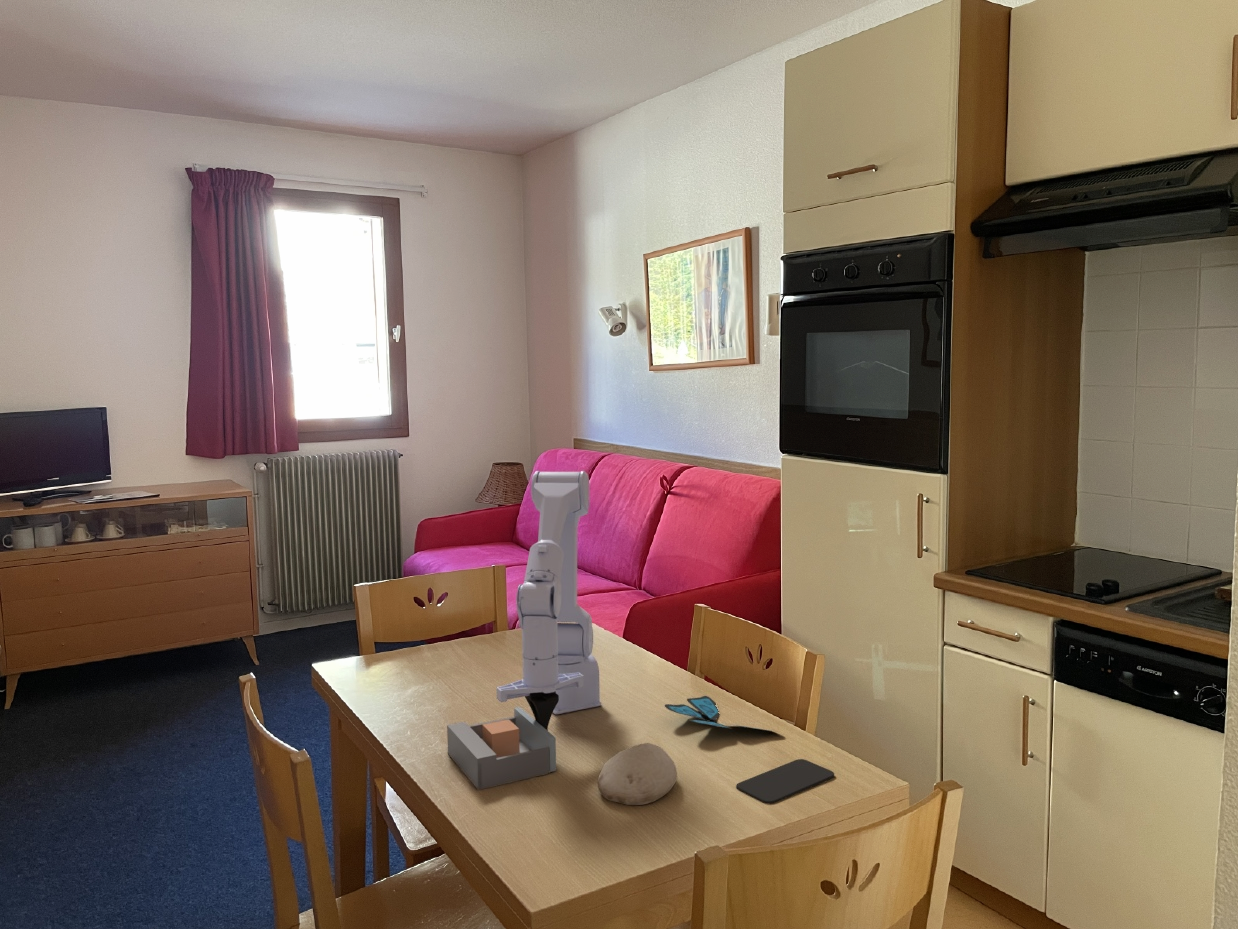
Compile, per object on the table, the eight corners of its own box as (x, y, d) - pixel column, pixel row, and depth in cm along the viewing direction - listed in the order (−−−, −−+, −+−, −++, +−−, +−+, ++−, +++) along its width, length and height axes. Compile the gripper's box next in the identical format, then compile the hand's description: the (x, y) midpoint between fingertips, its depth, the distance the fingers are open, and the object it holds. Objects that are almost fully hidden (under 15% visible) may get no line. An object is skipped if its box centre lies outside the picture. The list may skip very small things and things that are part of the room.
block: (509, 749, 149) (508, 719, 149) (519, 759, 145) (519, 728, 145) (483, 754, 147) (482, 724, 147) (492, 765, 143) (492, 734, 143)
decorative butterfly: (646, 711, 165) (648, 695, 164) (710, 701, 172) (712, 686, 172) (716, 757, 148) (718, 739, 147) (783, 744, 155) (785, 727, 155)
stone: (626, 838, 131) (649, 804, 127) (578, 787, 135) (600, 753, 131) (674, 795, 141) (697, 763, 138) (628, 749, 145) (650, 717, 141)
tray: (520, 737, 156) (519, 707, 155) (556, 770, 142) (555, 737, 142) (453, 751, 150) (452, 720, 150) (483, 787, 137) (482, 753, 136)
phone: (732, 785, 136) (800, 757, 145) (732, 790, 137) (800, 762, 146) (769, 803, 131) (837, 773, 140) (769, 808, 131) (837, 778, 140)
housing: (514, 739, 155) (513, 712, 155) (549, 773, 142) (549, 743, 141) (447, 753, 150) (447, 725, 149) (478, 790, 137) (477, 758, 136)
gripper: (506, 669, 141) (509, 754, 142) (591, 654, 148) (593, 735, 149) (490, 656, 147) (493, 738, 148) (573, 643, 154) (574, 721, 155)
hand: (542, 736), depth 149 cm, fingers closed
